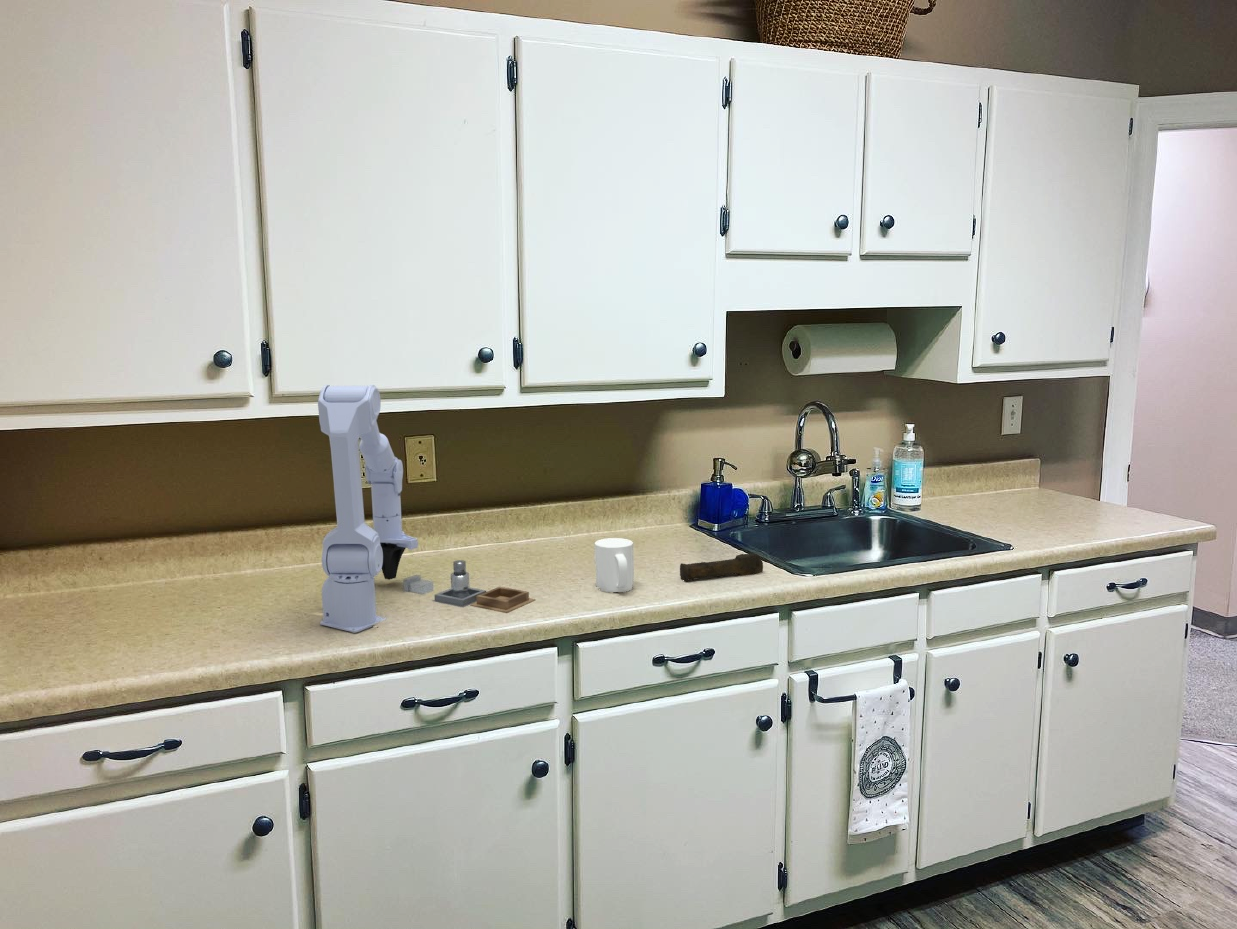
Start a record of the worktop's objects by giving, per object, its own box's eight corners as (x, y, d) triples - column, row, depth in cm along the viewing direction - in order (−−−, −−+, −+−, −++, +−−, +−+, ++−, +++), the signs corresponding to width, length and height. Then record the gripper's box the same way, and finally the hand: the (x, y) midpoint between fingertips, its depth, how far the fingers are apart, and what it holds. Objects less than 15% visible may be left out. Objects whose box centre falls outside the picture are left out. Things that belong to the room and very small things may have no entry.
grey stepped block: (403, 593, 195) (403, 579, 195) (416, 588, 198) (416, 574, 198) (422, 597, 192) (421, 582, 192) (435, 592, 196) (434, 578, 195)
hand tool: (684, 584, 201) (685, 563, 200) (678, 579, 204) (678, 558, 204) (767, 577, 206) (768, 556, 205) (760, 571, 210) (760, 551, 209)
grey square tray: (431, 603, 188) (431, 594, 188) (458, 593, 195) (458, 584, 195) (463, 610, 184) (462, 601, 184) (489, 599, 191) (489, 590, 191)
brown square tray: (470, 608, 185) (469, 596, 185) (499, 596, 193) (498, 584, 192) (507, 616, 181) (506, 603, 180) (535, 603, 188) (535, 591, 188)
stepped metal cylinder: (447, 599, 189) (446, 562, 188) (459, 594, 192) (458, 558, 191) (461, 602, 187) (460, 565, 186) (473, 597, 190) (472, 561, 189)
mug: (589, 538, 201) (625, 535, 203) (589, 581, 202) (626, 578, 205) (604, 552, 189) (643, 549, 192) (605, 598, 191) (643, 594, 193)
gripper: (426, 514, 196) (429, 578, 199) (375, 507, 204) (379, 568, 206) (402, 521, 191) (405, 587, 193) (350, 513, 198) (354, 576, 200)
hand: (390, 578), depth 199 cm, fingers closed
